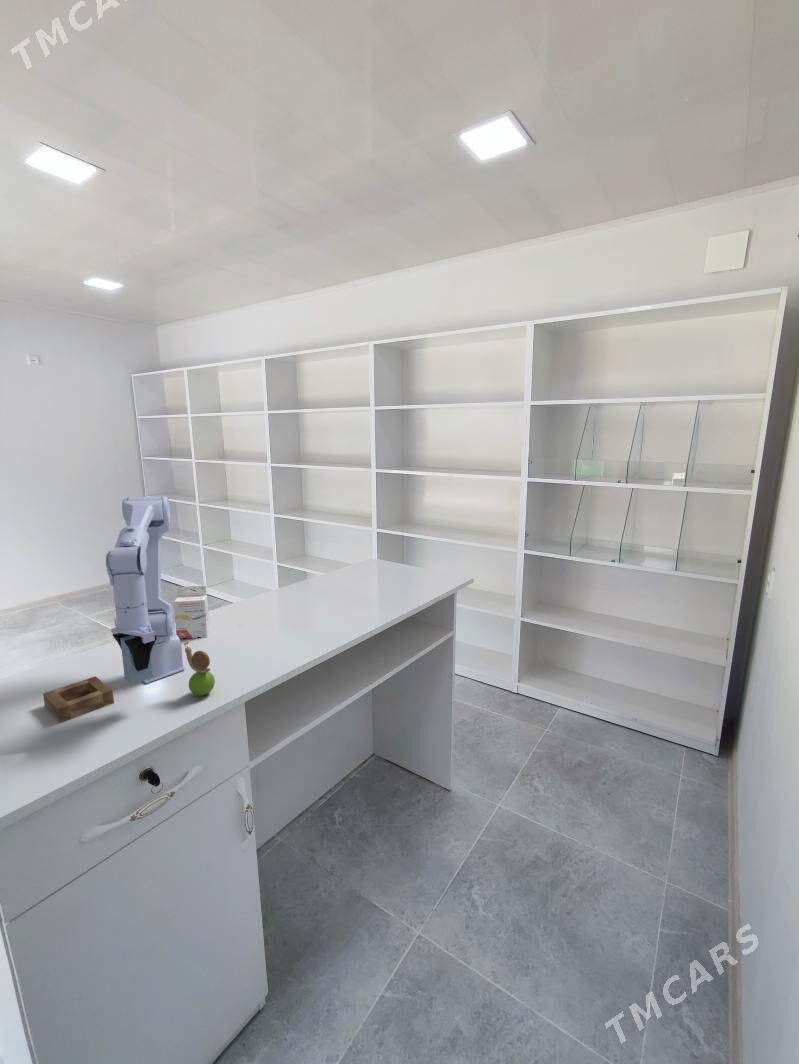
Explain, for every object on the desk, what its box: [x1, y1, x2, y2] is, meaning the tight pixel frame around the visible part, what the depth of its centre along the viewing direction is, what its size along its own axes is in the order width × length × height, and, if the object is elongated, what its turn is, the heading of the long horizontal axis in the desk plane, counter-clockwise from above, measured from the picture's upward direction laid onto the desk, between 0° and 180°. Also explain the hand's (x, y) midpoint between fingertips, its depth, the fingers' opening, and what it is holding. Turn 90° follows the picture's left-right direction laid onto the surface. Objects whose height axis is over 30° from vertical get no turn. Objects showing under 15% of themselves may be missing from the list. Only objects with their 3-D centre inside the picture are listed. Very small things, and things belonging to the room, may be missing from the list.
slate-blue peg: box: [120, 635, 153, 685], centre depth 99 cm, size 4×4×9 cm
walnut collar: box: [42, 676, 115, 724], centre depth 102 cm, size 10×10×3 cm
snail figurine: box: [183, 641, 216, 697], centre depth 106 cm, size 5×6×12 cm
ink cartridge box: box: [173, 585, 210, 640], centre depth 139 cm, size 9×5×15 cm, turn 104°
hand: (137, 666), depth 100 cm, fingers closed on slate-blue peg, 4 cm apart
